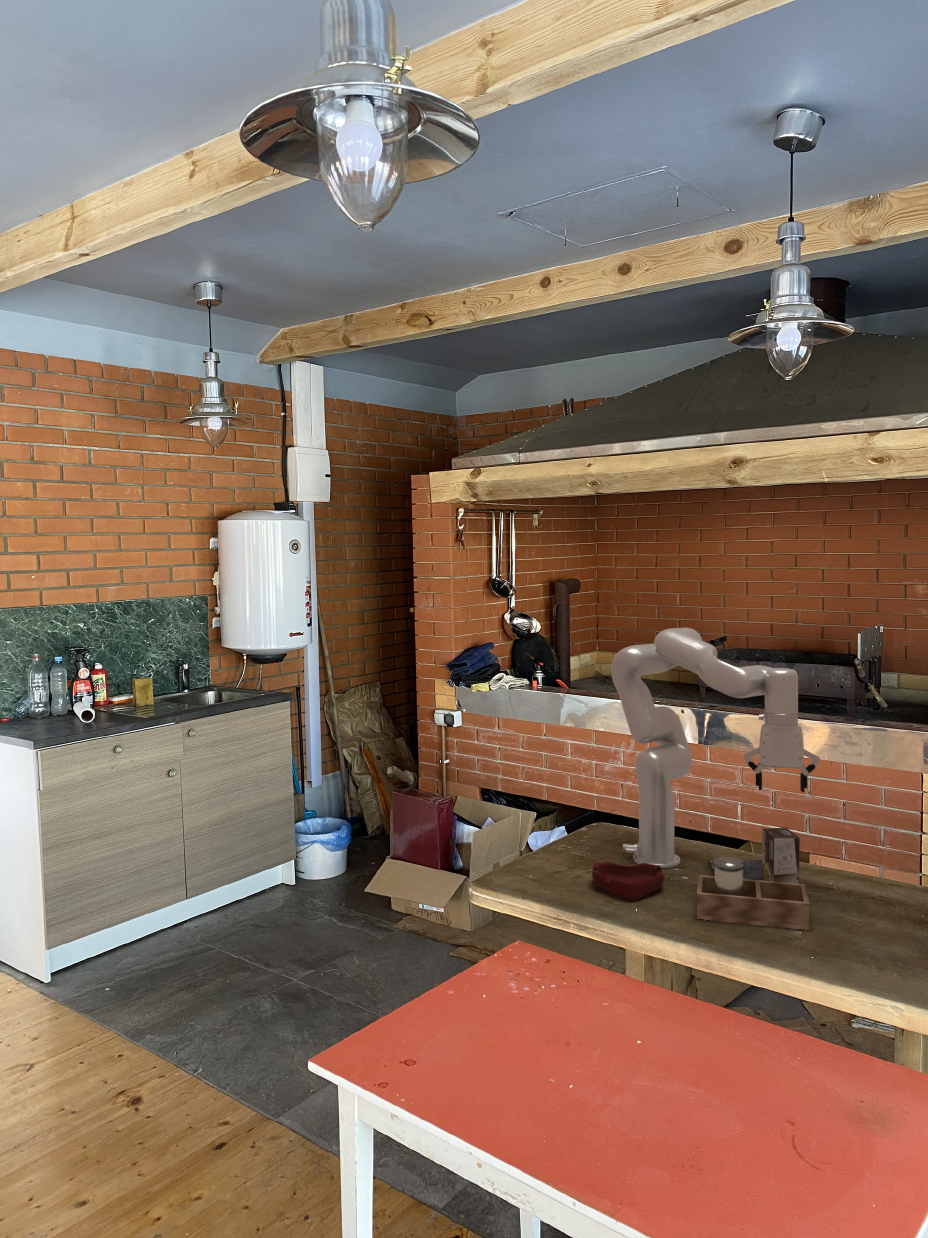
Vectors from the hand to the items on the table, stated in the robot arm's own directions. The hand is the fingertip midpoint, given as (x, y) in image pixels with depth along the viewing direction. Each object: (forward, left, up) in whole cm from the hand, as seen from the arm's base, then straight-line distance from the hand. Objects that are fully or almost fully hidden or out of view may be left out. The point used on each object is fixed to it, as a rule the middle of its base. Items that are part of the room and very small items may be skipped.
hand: (781, 790), depth 213 cm
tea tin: (-12, -13, -27) cm, 32 cm away
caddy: (-7, -13, -27) cm, 30 cm away
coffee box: (0, 0, -27) cm, 27 cm away
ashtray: (-36, -5, -27) cm, 45 cm away
